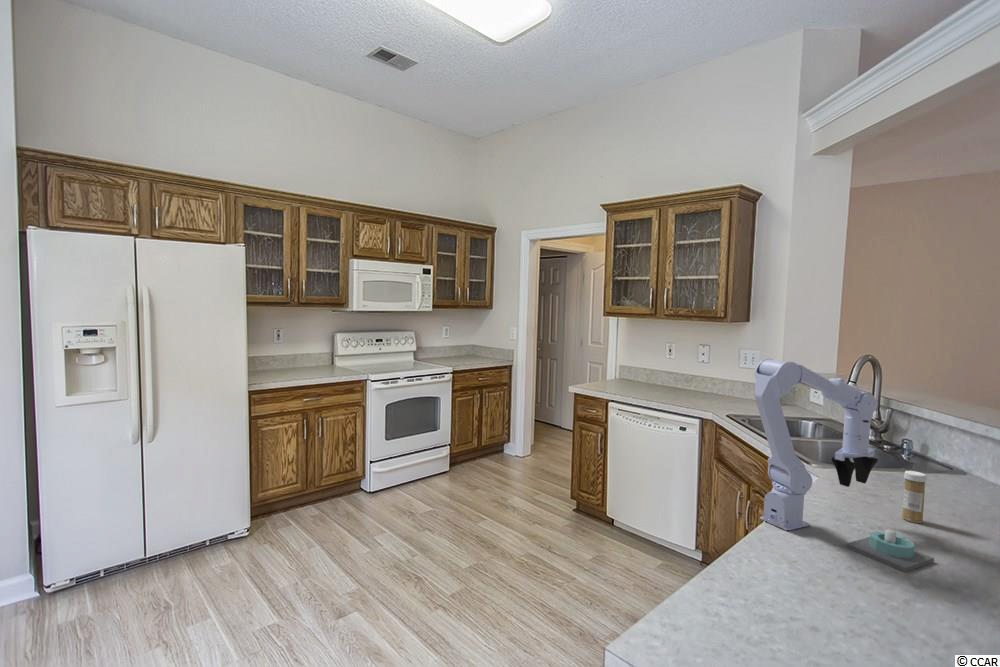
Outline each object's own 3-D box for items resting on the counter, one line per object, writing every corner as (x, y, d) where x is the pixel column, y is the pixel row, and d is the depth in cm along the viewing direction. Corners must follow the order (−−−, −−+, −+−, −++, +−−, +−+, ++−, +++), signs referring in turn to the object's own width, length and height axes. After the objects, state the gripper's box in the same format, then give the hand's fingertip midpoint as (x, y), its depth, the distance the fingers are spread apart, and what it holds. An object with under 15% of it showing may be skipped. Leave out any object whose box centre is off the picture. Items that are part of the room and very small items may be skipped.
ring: (901, 561, 108) (902, 550, 108) (862, 544, 116) (863, 534, 116) (920, 554, 112) (921, 543, 112) (881, 539, 119) (881, 529, 119)
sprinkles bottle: (925, 521, 134) (928, 473, 133) (919, 525, 131) (923, 476, 130) (904, 515, 137) (908, 469, 137) (898, 518, 135) (902, 471, 134)
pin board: (905, 572, 105) (907, 547, 105) (846, 547, 116) (847, 525, 116) (933, 562, 110) (935, 538, 110) (874, 539, 121) (876, 517, 121)
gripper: (856, 440, 124) (853, 492, 125) (888, 436, 130) (884, 485, 131) (828, 433, 131) (824, 483, 131) (859, 430, 137) (856, 477, 137)
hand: (852, 483), depth 132 cm, fingers open, 7 cm apart
